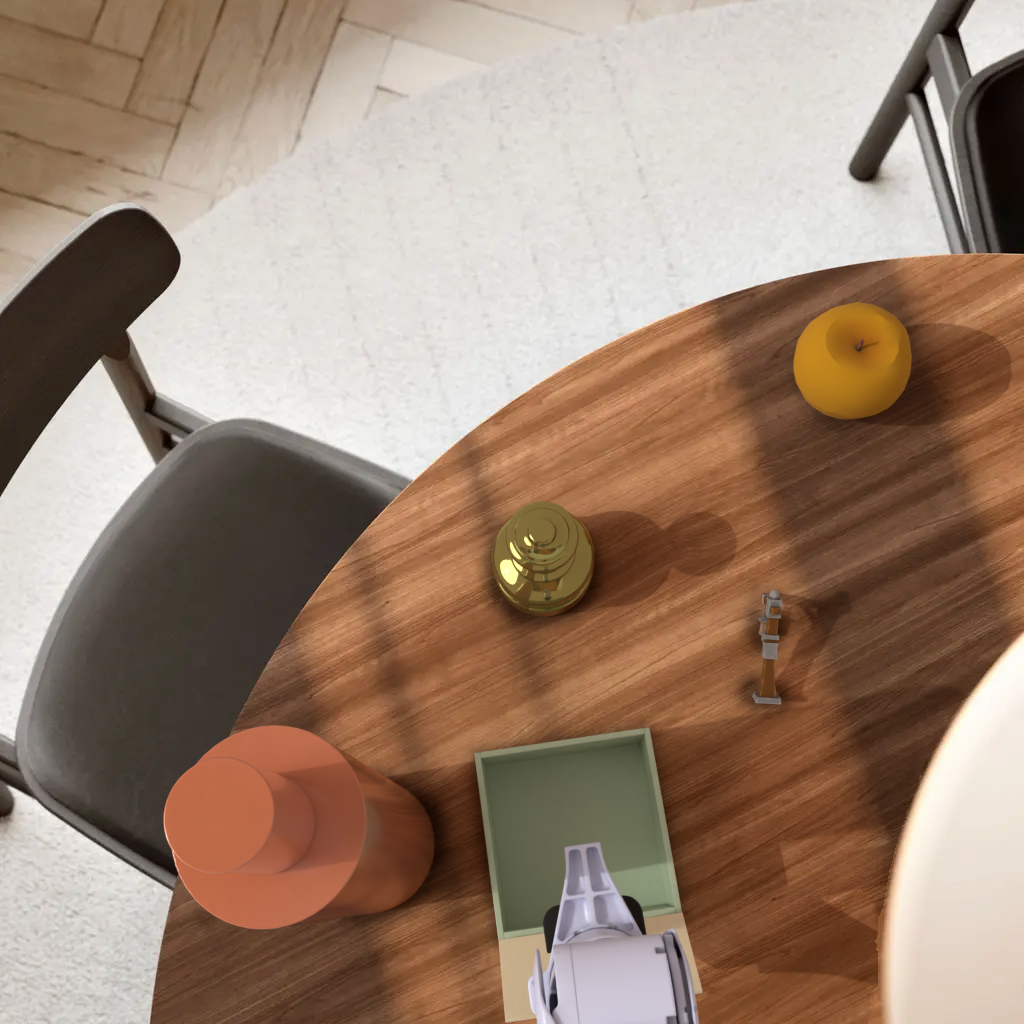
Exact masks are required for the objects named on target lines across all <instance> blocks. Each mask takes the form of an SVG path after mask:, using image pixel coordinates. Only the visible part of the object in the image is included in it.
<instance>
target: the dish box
mask: <svg viewBox="0 0 1024 1024" xmlns="http://www.w3.org/2000/svg"><path fill="white" fill-rule="evenodd" d="M473 754H474V762H475V770H476V777H477V785H478V793H479V794H478V795H479V801H480V808H481V818H482V824H483V831H484V832H483V833H484V840H485V848H486V855H487V862H488V870H489V879H490V886H491V894H492V902H493V910H494V916H495V917H494V918H495V924H496V925H495V926H496V932H497V939H498V941H499V940H502V939H508V938H515V937H522V936H528V935H535V934H542V933H544V929H543V919H544V916H545V914H546V912H547V911H548V910H549V909H550V908H552V907H553V906H556V905H560V904H561V899H562V893H563V888H564V882H565V874H566V859H565V850H564V849H565V847H568V846H575V845H582V844H588V843H595V842H600V844H601V849H602V853H603V857H604V861H605V864H606V866H607V869H608V871H609V873H610V875H611V877H612V879H613V881H614V883H615V885H616V887H617V888H618V890H619V892H620V894H621V896H622V895H626V896H630V897H632V898H634V899H636V900H637V901H638V902H639V904H640V906H641V908H642V911H643V916H644V918H649V917H656V916H662V915H669V914H676V913H683V910H682V904H681V897H680V893H679V887H678V881H677V875H676V870H675V863H674V858H673V853H672V847H671V842H670V835H669V830H668V824H667V819H666V814H665V808H664V801H663V796H662V790H661V785H660V779H659V773H658V769H657V763H656V757H655V752H654V746H653V739H652V735H651V728H650V727H649V726H647V727H642V728H634V729H628V730H622V731H621V730H620V731H614V732H607V733H601V734H594V735H588V736H580V737H574V738H568V739H560V740H554V741H545V742H539V743H534V744H533V743H532V744H527V745H526V744H525V745H521V746H514V747H505V748H499V749H493V750H485V751H478V752H474V753H473Z"/></svg>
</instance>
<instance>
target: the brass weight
mask: <svg viewBox="0 0 1024 1024" xmlns="http://www.w3.org/2000/svg"><path fill="white" fill-rule="evenodd" d="M593 541H594V540H593V538H592V536H591V534H590V532H589V530H588V528H587V527H586V525H584V523H583V522H582V521H581V520H580V519H579V518H578V517H577V516H575V515H574V514H573V513H571V512H569V511H568V510H567V509H566V508H564V507H563V506H561V505H560V504H558V503H555V502H552V501H545V500H544V501H543V500H540V501H533V502H529V503H527V504H525V505H523V506H522V507H521V508H519V509H518V510H517V511H515V512H514V514H513V515H512V516H510V517H509V518H508V519H507V520H506V521H505V522H504V523H503V524H502V525H501V527H500V528H499V530H498V531H497V533H496V535H495V537H494V540H493V544H492V548H491V565H492V570H493V575H494V578H495V581H496V585H497V587H498V590H499V591H500V593H501V595H502V596H503V598H504V599H505V600H506V601H507V603H509V604H510V605H511V606H512V607H513V608H514V609H516V610H518V611H519V612H521V613H524V614H527V615H530V616H534V617H543V618H544V617H553V616H558V615H561V614H563V613H565V612H567V611H569V610H571V609H573V608H574V607H575V606H576V605H577V604H579V602H580V601H582V599H583V598H584V596H585V595H586V593H587V592H588V590H589V587H590V585H591V582H592V579H593V578H592V577H593V575H594V567H595V555H596V554H595V553H596V552H595V546H594V542H593Z"/></svg>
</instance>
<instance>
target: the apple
mask: <svg viewBox="0 0 1024 1024" xmlns="http://www.w3.org/2000/svg"><path fill="white" fill-rule="evenodd" d="M912 361H913V355H912V349H911V340H910V335H909V334H908V331H907V328H906V327H905V326H904V324H902V322H901V321H900V320H899V319H898V317H897V316H896V315H895V314H893V313H891V312H889V311H888V310H886V309H884V308H883V307H880V306H878V305H875V304H874V303H867V302H861V301H854V302H850V303H846V304H842V305H838V306H834V307H832V308H830V309H828V310H826V311H825V312H823V313H822V314H820V315H818V316H817V317H816V318H814V319H812V320H811V321H810V322H809V323H808V324H807V326H806V327H805V329H803V331H802V333H801V334H800V336H799V337H798V339H797V342H796V347H795V352H794V356H793V374H794V379H795V384H796V385H797V387H798V389H799V391H800V393H801V394H802V397H803V399H804V401H805V402H807V403H808V404H809V405H810V406H811V407H812V408H814V409H815V410H817V411H818V412H820V413H821V414H823V415H825V416H826V417H827V416H828V417H831V418H834V419H837V420H858V419H863V418H868V417H872V416H875V415H878V414H879V413H882V412H884V411H885V410H888V409H889V408H890V407H891V406H892V405H893V404H895V403H896V402H897V400H898V399H899V398H900V396H901V395H902V394H903V392H904V391H905V389H906V386H907V384H908V381H909V379H910V376H911V371H912Z"/></svg>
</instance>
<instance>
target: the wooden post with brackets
mask: <svg viewBox="0 0 1024 1024" xmlns="http://www.w3.org/2000/svg"><path fill="white" fill-rule="evenodd" d="M780 596H781V594H780V591H778V590H777V589H773V590H771V591H770V592H761V604H762V605H763V606H764V609H765V610H764V611H762V614H763V616H762V617H758V620H759V622H760V626H759V631H758V634H759V636H761V637H760V639H761V642H762V650H761V651H762V652H761V654H760V655H761V657H762V666H761V667H762V668H761V674H760V680H759V685H758V689H757V691H752V692H753V694H752V696H751V697H752V698H753V700H754V702H755V704H765V705H766V704H767V705H782V698H781V697H780V695H779V693H778V692H777V689H776V670H775V667H776V660H778V647H779V642H778V641H779V640H780V635H779V634H778V629H779V620H780V619H782V605H783V599H782V597H780Z"/></svg>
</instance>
